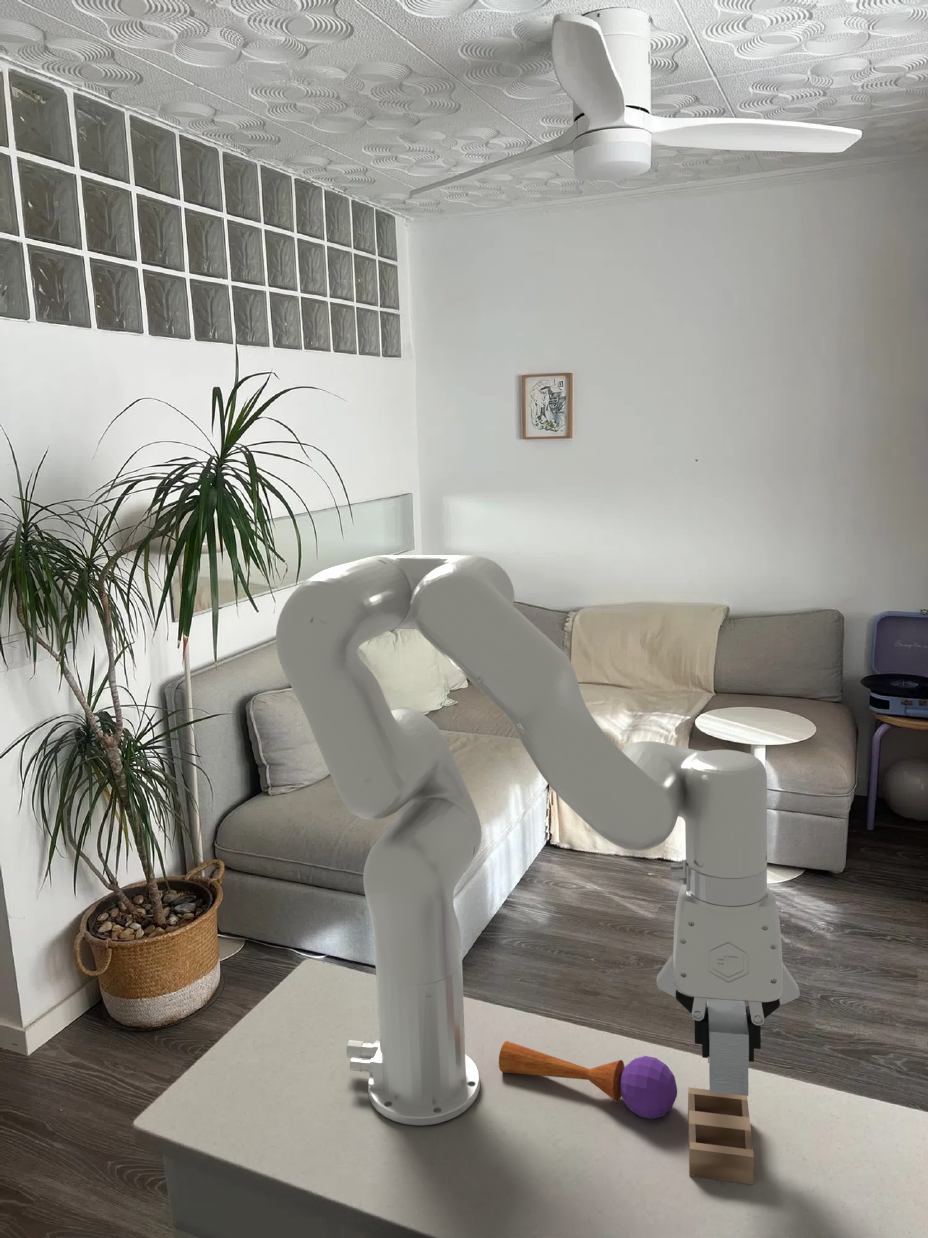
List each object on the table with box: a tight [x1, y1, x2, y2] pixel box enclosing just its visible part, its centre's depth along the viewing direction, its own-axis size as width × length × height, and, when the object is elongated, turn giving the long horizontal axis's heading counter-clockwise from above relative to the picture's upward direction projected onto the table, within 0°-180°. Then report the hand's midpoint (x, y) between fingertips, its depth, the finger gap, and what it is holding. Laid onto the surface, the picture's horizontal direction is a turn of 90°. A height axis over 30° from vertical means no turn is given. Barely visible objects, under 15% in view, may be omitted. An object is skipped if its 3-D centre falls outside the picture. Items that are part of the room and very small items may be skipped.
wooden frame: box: [687, 1086, 755, 1185], centre depth 95 cm, size 6×9×3 cm, turn 168°
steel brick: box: [706, 998, 750, 1097], centre depth 93 cm, size 4×7×7 cm, turn 168°
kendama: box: [498, 1040, 678, 1120], centre depth 104 cm, size 6×6×20 cm
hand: (727, 1049), depth 93 cm, fingers closed on steel brick, 3 cm apart
